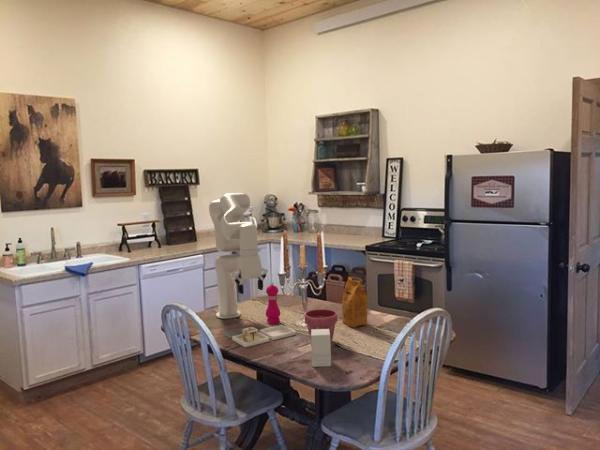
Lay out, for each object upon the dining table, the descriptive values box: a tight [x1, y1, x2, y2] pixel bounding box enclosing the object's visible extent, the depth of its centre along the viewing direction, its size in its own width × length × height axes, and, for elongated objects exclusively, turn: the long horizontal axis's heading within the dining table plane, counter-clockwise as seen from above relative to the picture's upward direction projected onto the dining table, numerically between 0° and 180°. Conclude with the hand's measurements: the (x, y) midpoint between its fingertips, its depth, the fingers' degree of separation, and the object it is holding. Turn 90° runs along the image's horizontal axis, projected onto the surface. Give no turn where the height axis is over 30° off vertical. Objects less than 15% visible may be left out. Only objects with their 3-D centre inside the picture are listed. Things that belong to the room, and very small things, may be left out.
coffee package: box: [341, 276, 368, 328], centre depth 245 cm, size 10×12×22 cm
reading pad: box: [219, 326, 246, 339], centre depth 238 cm, size 10×12×1 cm
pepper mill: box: [265, 282, 281, 325], centre depth 252 cm, size 7×7×20 cm
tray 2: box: [259, 324, 297, 341], centre depth 234 cm, size 12×12×2 cm
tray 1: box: [231, 331, 270, 348], centre depth 227 cm, size 12×12×2 cm
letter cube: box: [242, 326, 259, 343], centre depth 226 cm, size 5×5×5 cm
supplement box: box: [310, 329, 332, 368], centre depth 199 cm, size 7×7×13 cm
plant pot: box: [304, 308, 338, 344], centre depth 223 cm, size 14×14×13 cm
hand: (250, 291), depth 225 cm, fingers open, 9 cm apart
